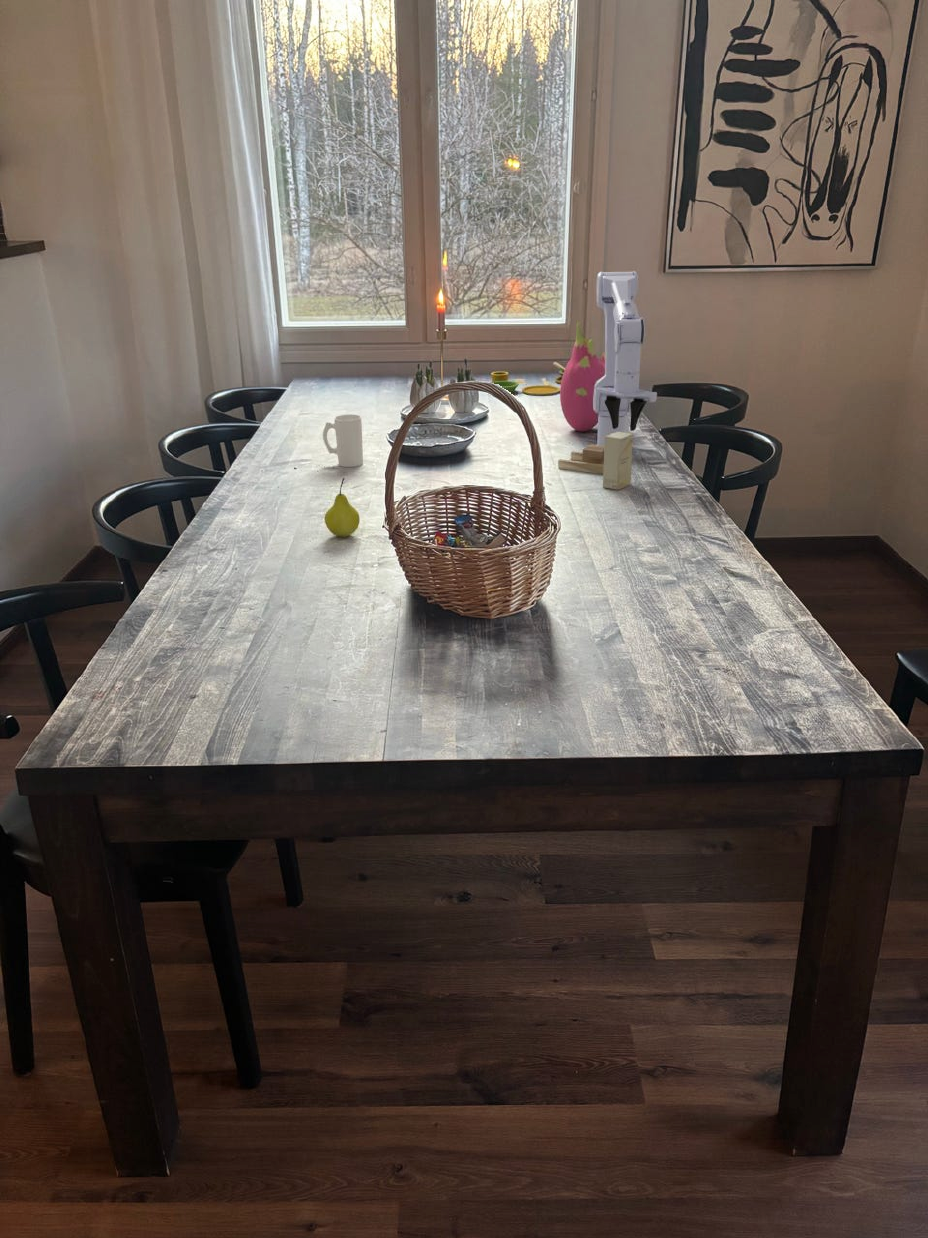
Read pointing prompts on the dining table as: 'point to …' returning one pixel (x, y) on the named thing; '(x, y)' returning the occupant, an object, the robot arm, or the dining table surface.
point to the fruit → (342, 517)
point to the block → (593, 454)
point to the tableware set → (537, 390)
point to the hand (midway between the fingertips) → (624, 428)
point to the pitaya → (581, 384)
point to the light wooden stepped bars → (579, 464)
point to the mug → (346, 439)
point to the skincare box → (617, 460)
